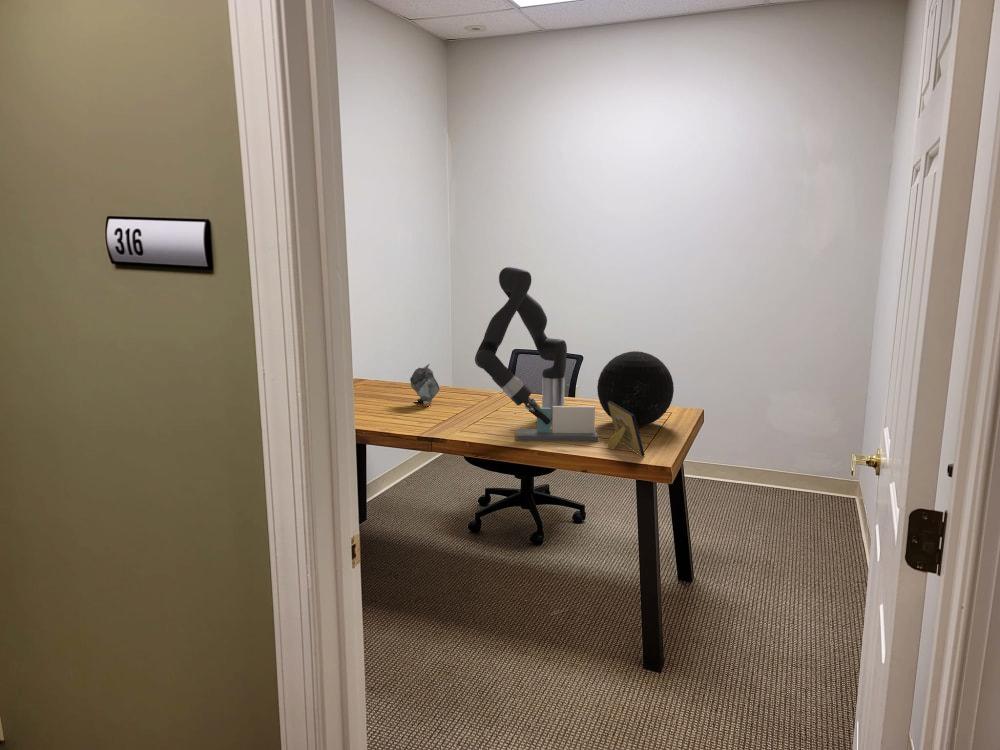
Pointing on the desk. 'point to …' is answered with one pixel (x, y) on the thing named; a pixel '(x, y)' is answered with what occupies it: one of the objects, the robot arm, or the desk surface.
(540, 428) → the stub
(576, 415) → the sliding block rail
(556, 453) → the desk surface
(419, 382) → the grey bird figurine
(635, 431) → the picture frame
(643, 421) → the fuzzy black sphere
